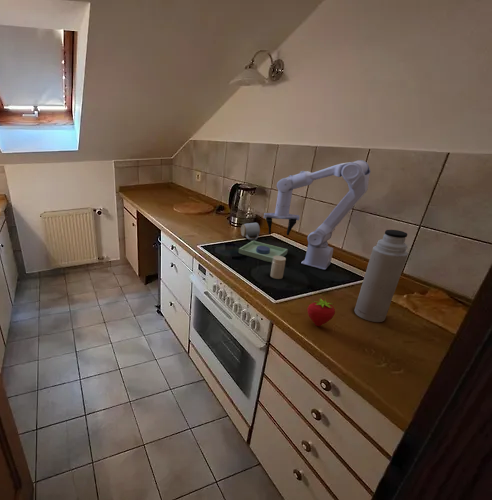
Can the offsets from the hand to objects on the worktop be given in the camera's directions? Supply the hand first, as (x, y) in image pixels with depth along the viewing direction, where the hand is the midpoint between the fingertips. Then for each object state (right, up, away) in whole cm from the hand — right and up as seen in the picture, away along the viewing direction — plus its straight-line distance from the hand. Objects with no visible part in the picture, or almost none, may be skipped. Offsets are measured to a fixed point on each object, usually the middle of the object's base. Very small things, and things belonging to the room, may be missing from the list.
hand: (278, 233), depth 137 cm
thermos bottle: (+9, -28, -43) cm, 52 cm away
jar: (-9, -18, -18) cm, 27 cm away
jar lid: (-6, -7, +2) cm, 10 cm away
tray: (-6, -9, +3) cm, 11 cm away
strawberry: (-10, -31, -47) cm, 57 cm away
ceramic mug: (-5, -1, +23) cm, 23 cm away
